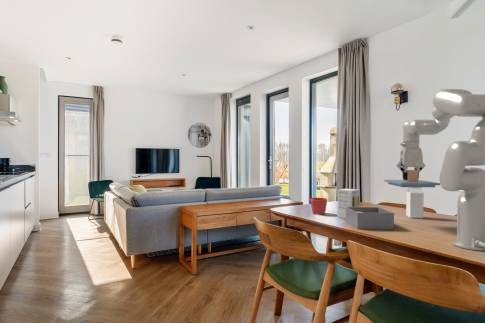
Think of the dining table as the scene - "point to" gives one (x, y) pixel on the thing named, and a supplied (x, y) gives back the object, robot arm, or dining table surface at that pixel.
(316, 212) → the flower pot
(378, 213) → the storage box
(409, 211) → the milk carton
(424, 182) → the lid
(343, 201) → the supplement box
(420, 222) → the dining table surface
